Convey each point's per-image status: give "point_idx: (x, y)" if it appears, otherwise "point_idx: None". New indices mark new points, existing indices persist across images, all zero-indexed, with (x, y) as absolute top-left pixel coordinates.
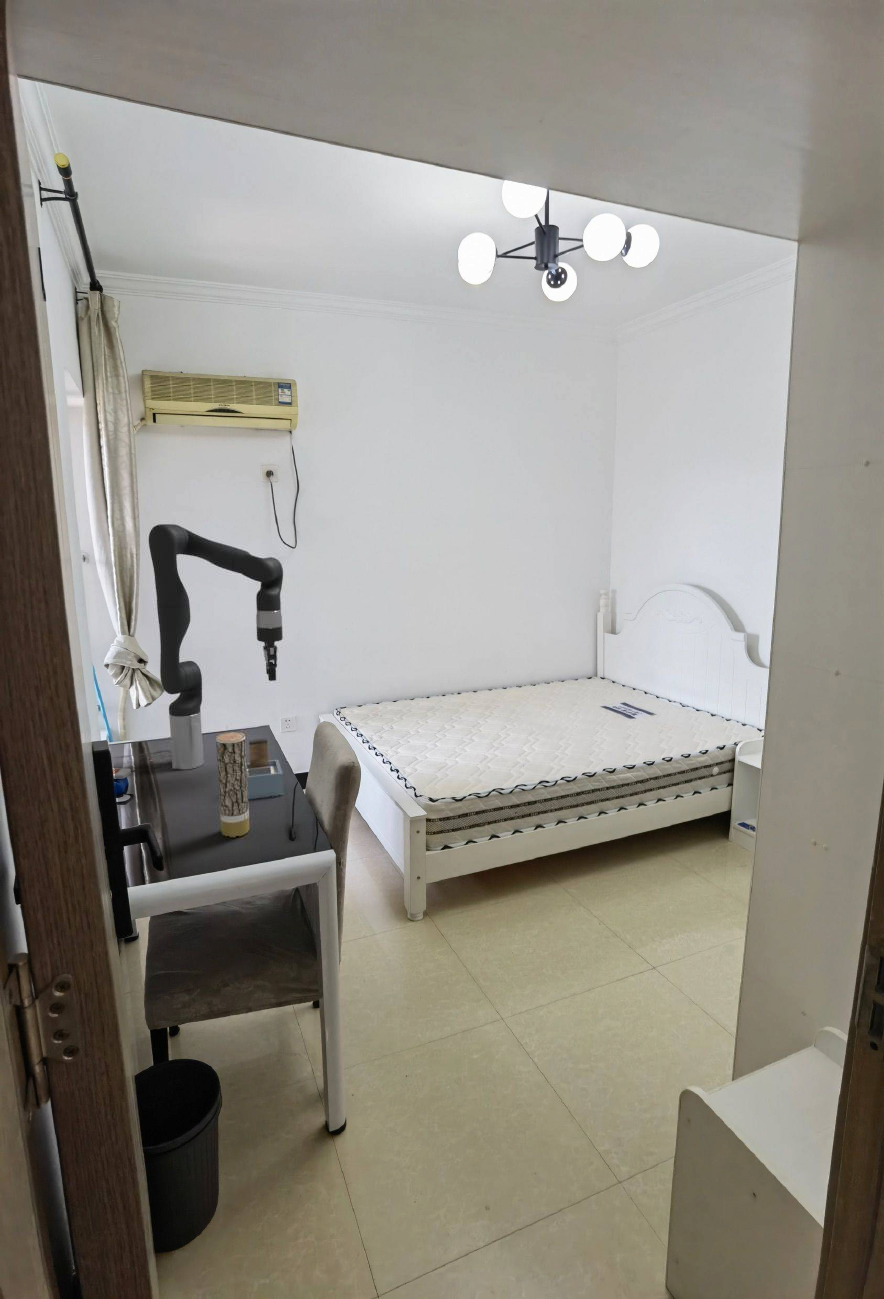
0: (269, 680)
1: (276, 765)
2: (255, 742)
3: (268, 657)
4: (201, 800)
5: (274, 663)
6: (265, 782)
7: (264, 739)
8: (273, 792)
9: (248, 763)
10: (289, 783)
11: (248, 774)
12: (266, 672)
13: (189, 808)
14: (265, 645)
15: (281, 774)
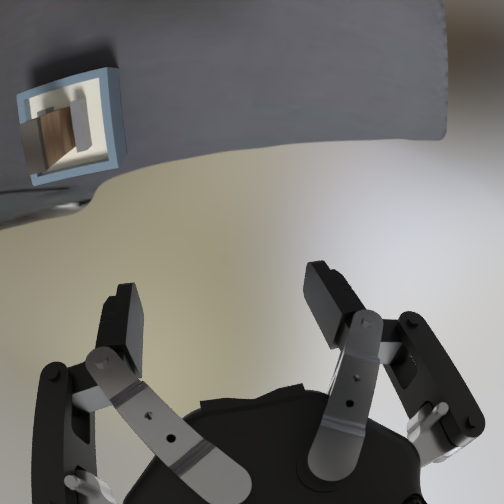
0: (121, 285)
1: (81, 166)
2: (23, 141)
3: (34, 443)
4: (57, 17)
5: (75, 415)
6: None
7: (38, 165)
8: None
9: (76, 102)
10: (106, 175)
11: (65, 102)
12: (312, 266)
13: (30, 10)
14: (438, 416)
15: (33, 182)
